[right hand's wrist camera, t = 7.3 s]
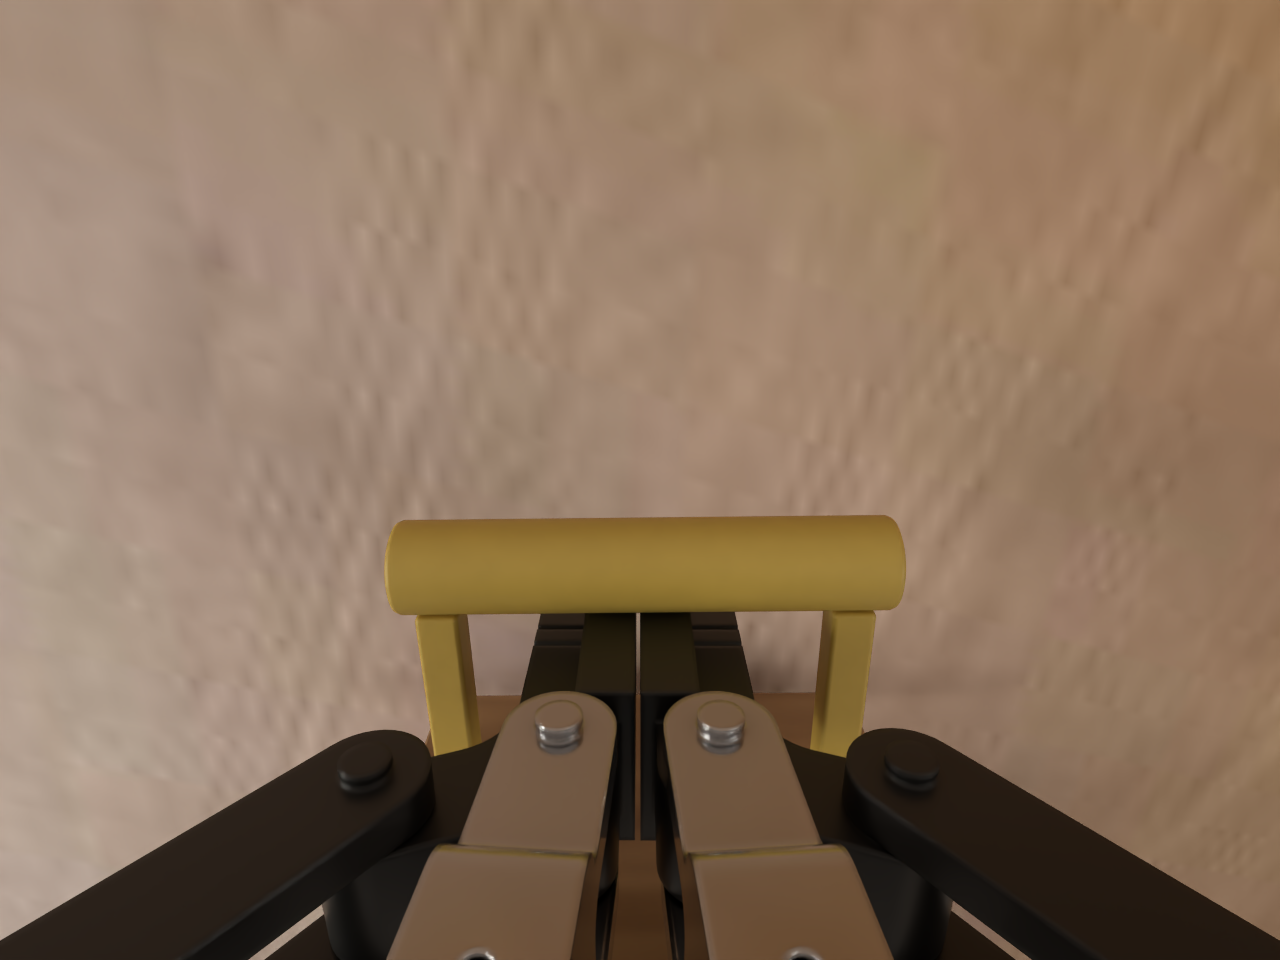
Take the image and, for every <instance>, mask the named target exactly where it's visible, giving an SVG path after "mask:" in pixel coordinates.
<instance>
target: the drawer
mask: <svg viewBox="0 0 1280 960" xmlns="http://www.w3.org/2000/svg"><path fill="white" fill-rule="evenodd" d="M384 578H385V588H386V593H387V598H388V601H389V604H390V606H391V608H392V610H393V611H394V612H396V613H398V614H400V615H417V617H416V620H415V625H416V632H417V639H418V646H419V653H420V660H421V667H422V673H423V680H424V687H425V694H426V701H427V708H428V715H429V722H430V731H429V734H428V737H427V739H426V742H425V745H426V746H427V748H428V749H429V752H430V755H431V757H432V756H437V755H441V754H445V753H450V752H454V751H458V750H462V749H466V748H469V747H472V746H475V745H477V744H480V743H482V742H484V741H486V740H488V739H490V738H492V737H493V736H495V735H496V734H498V733H499V732H500V730H501V727H502V725H503V722H504V720H505V719H506V717H507V716H508V714H509V713H510V712H511V711H512V710H513V709H514V708H515V707H516V706H518V705H519V704H520V700H521V696H522V695H515V696H476V688H475V679H474V670H473V662H472V653H471V644H470V635H469V626H468V617H467V614H555V613H653V612H752V611H823V619H822V630H821V640H820V651H819V661H818V672H817V682H816V693H753V695H754V699H755V701H756V702H758V703H759V704H761V705H763V706H764V707H765V708H766V709H767V710H768V711H769V712H770V713H771V714H772V715H773V717H774V718H775V720H776V722H777V725H778V727H779V730H780V733H781V735H782V738H784V739H786V740H788V741H790V742H792V743H794V744H797V745H799V746H802V747H805V748H808V749H812V750H815V751H820V752H824V753H828V754H832V755H837V756H841V757H845V758H846V755H847V751H848V748H849V746H850V745H851V743H852V742H853V741H854V740H855V739H856V738H857V737H859V736H860V735H862V734H864V730H863V728H862V723H863V715H864V707H865V700H866V692H867V684H868V676H869V668H870V660H871V652H872V644H873V636H874V628H875V620H876V615H875V613H874V611H873V610H891V609H893V608H895V607H897V606H898V604H899V603H900V601H901V598H902V595H903V591H904V586H905V579H906V558H905V549H904V544H903V540H902V536H901V533H900V530H899V528H898V526H897V524H896V522H895V521H894V520H893V519H892V518H891V517H888V516H886V515H849V516H753V517H657V518H561V519H466V520H403V521H401V522H399V523H397V524H396V525H395V526H394V528H393V529H392V531H391V534H390V537H389V540H388V544H387V548H386V554H385V564H384ZM612 960H668V953H667V944H666V936H665V927H664V918H663V910H662V901H661V880H660V878H659V875H658V872H657V866H656V841H640V694H636V767H635V840H619V901H618V910H617V919H616V927H615V936H614V945H613V953H612Z"/></svg>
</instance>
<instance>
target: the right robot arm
mask: <svg viewBox="0 0 1280 960" xmlns="http://www.w3.org/2000/svg"><path fill="white" fill-rule="evenodd" d="M635 767H636V613H555V614H541V616H540V620H539V625H538V629H537V633H536V637H535V641H534V646H533V650H532V654H531V658H530V662H529V666H528V671H527V675H526V679H525V683H524V687H523V692H522V696H521V700H520V704H519V705H518V706H516V707H515V708H514V709H513V710H512V711H511V712H510V713H509V714H508V716H507V717H506V719H505V720H504V722H503V725H502V727H501V730H500V732H499V733H498V734H496V735H495V736H493V737H492V738H490V739H488V740H486V741H484V742H482V743H480V744H477V745H475V746H472V747H469V748H466V749H462V750H458V751H454V752H450V753H445V754H441V755H437V756H432V757H431V755H430V752H429V749H428V748H427V746H426V745H425V743H424V742H423V741H421V740H420V739H419V738H417V737H416V736H414V735H412V734H409V733H406V732H402V731H396V730H377V731H370V732H364V733H361V734H357V735H354V736H351V737H348V738H346V739H343V740H341V741H339V742H337V743H336V744H334V745H332V746H330V747H328V748H327V749H325V750H323V751H322V752H320V753H318V754H317V755H315V756H313V757H311V758H310V759H308V760H306V761H305V762H303V763H301V764H300V765H298V766H296V767H294V768H293V769H291V770H289V771H288V772H286V773H284V774H283V775H281V776H279V777H277V778H276V779H274V780H272V781H271V782H269V783H267V784H266V785H264V786H262V787H260V788H259V789H257V790H255V791H254V792H252V793H250V794H249V795H247V796H245V797H243V798H242V799H240V800H238V801H237V802H235V803H233V804H232V805H230V806H228V807H226V808H225V809H223V810H221V811H220V812H218V813H216V814H215V815H213V816H211V817H209V818H208V819H206V820H204V821H203V822H201V823H199V824H198V825H196V826H194V827H193V828H191V829H189V830H187V831H186V832H184V833H182V834H181V835H179V836H177V837H176V838H174V839H172V840H170V841H169V842H167V843H165V844H164V845H162V846H160V847H159V848H157V849H155V850H153V851H152V852H150V853H148V854H147V855H145V856H143V857H142V858H140V859H138V860H136V861H135V862H133V863H131V864H130V865H128V866H126V867H125V868H123V869H121V870H119V871H118V872H116V873H114V874H113V875H111V876H109V877H108V878H106V879H104V880H102V881H101V882H99V883H97V884H96V885H94V886H92V887H91V888H89V889H87V890H85V891H84V892H82V893H80V894H79V895H77V896H75V897H74V898H72V899H70V900H69V901H67V902H65V903H63V904H62V905H60V906H58V907H57V908H55V909H53V910H52V911H50V912H48V913H46V914H45V915H43V916H41V917H40V918H38V919H36V920H35V921H33V922H31V923H29V924H28V925H26V926H24V927H23V928H21V929H19V930H18V931H16V932H14V933H12V934H11V935H9V936H7V937H6V938H4V939H2V940H1V941H0V960H248V959H250V958H251V957H252V956H253V955H255V954H256V953H257V952H259V951H260V950H261V949H263V948H264V947H265V946H267V945H268V944H269V943H271V942H272V941H273V940H275V939H276V938H277V937H279V936H280V935H281V934H283V933H284V932H285V931H287V930H288V929H289V928H291V927H292V926H293V925H295V924H296V923H297V922H299V921H300V920H301V919H303V918H304V917H305V916H307V915H308V914H309V913H311V912H312V911H313V910H315V909H316V908H317V907H319V906H320V905H321V904H322V906H323V911H324V915H322V916H321V917H320V918H319V919H317V920H316V921H315V922H313V923H312V924H311V925H309V926H308V927H307V928H305V929H304V930H303V931H301V932H300V933H299V934H298V935H296V936H295V937H294V938H292V939H291V940H290V941H288V942H287V943H286V944H284V945H283V946H282V947H281V948H279V949H278V950H277V951H275V952H274V953H273V954H271V955H270V956H269V957H267V958H266V959H265V960H612V953H613V945H614V936H615V927H616V919H617V910H618V901H619V840H635ZM640 841H656V866H657V872H658V875H659V878H660V880H661V901H662V910H663V918H664V927H665V936H666V944H667V953H668V960H1015V959H1014V958H1013V957H1011V956H1010V955H1009V954H1007V953H1006V952H1005V951H1003V950H1002V949H1001V948H999V947H998V946H997V945H996V944H994V943H993V942H992V941H990V940H989V939H988V938H986V937H985V936H984V935H982V934H981V933H980V932H978V931H977V930H976V929H975V928H973V927H972V926H971V925H969V924H968V923H967V922H965V921H964V920H963V919H961V918H960V917H959V916H958V915H956V914H955V913H954V912H952V911H951V908H952V903H953V901H955V902H956V903H957V904H959V905H960V906H961V907H963V908H964V909H965V910H967V911H968V912H969V913H971V914H972V915H973V916H975V917H976V918H977V919H979V920H980V921H981V922H983V923H984V924H985V925H987V926H988V927H989V928H991V929H992V930H993V931H995V932H996V933H997V934H999V935H1000V936H1001V937H1003V938H1004V939H1005V940H1007V941H1008V942H1009V943H1011V944H1012V945H1013V946H1014V947H1016V948H1017V949H1018V950H1020V951H1021V952H1022V953H1024V954H1025V955H1026V956H1028V957H1029V958H1030V959H1032V960H1280V941H1279V940H1278V939H1276V938H1274V937H1273V936H1271V935H1269V934H1268V933H1266V932H1264V931H1262V930H1261V929H1259V928H1257V927H1256V926H1254V925H1252V924H1251V923H1249V922H1247V921H1245V920H1244V919H1242V918H1240V917H1239V916H1237V915H1235V914H1234V913H1232V912H1230V911H1228V910H1227V909H1225V908H1223V907H1222V906H1220V905H1218V904H1217V903H1215V902H1213V901H1211V900H1210V899H1208V898H1206V897H1205V896H1203V895H1201V894H1200V893H1198V892H1196V891H1194V890H1193V889H1191V888H1189V887H1188V886H1186V885H1184V884H1183V883H1181V882H1179V881H1177V880H1176V879H1174V878H1172V877H1171V876H1169V875H1167V874H1166V873H1164V872H1162V871H1160V870H1159V869H1157V868H1155V867H1154V866H1152V865H1150V864H1149V863H1147V862H1145V861H1144V860H1142V859H1140V858H1138V857H1137V856H1135V855H1133V854H1132V853H1130V852H1128V851H1127V850H1125V849H1123V848H1121V847H1120V846H1118V845H1116V844H1115V843H1113V842H1111V841H1110V840H1108V839H1106V838H1104V837H1103V836H1101V835H1099V834H1098V833H1096V832H1094V831H1093V830H1091V829H1089V828H1087V827H1086V826H1084V825H1082V824H1081V823H1079V822H1077V821H1076V820H1074V819H1072V818H1070V817H1069V816H1067V815H1065V814H1064V813H1062V812H1060V811H1059V810H1057V809H1055V808H1053V807H1052V806H1050V805H1048V804H1047V803H1045V802H1043V801H1042V800H1040V799H1038V798H1037V797H1035V796H1033V795H1031V794H1030V793H1028V792H1026V791H1025V790H1023V789H1021V788H1020V787H1018V786H1016V785H1014V784H1013V783H1011V782H1009V781H1008V780H1006V779H1004V778H1003V777H1001V776H999V775H997V774H996V773H994V772H992V771H991V770H989V769H987V768H986V767H984V766H982V765H980V764H979V763H977V762H975V761H974V760H972V759H970V758H969V757H967V756H965V755H963V754H962V753H960V752H958V751H957V750H955V749H953V748H952V747H950V746H948V745H946V744H945V743H943V742H941V741H939V740H937V739H935V738H933V737H930V736H928V735H925V734H922V733H919V732H915V731H911V730H906V729H897V728H884V729H877V730H872V731H869V732H866V733H864V734H862V735H860V736H859V737H857V738H856V739H855V740H854V741H853V742H852V743H851V745H850V746H849V748H848V751H847V755H846V758H845V757H841V756H837V755H832V754H828V753H824V752H820V751H815V750H812V749H808V748H805V747H802V746H799V745H797V744H794V743H792V742H790V741H788V740H786V739H784V738H782V735H781V733H780V730H779V727H778V725H777V722H776V720H775V718H774V717H773V715H772V714H771V713H770V712H769V711H768V710H767V709H766V708H765V707H764V706H763V705H761V704H759V703H758V702H756V701H755V699H754V695H753V691H752V686H751V682H750V678H749V673H748V669H747V664H746V660H745V656H744V651H743V647H742V646H741V638H740V634H739V630H738V625H737V621H736V616H735V612H653V613H640Z"/></svg>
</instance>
